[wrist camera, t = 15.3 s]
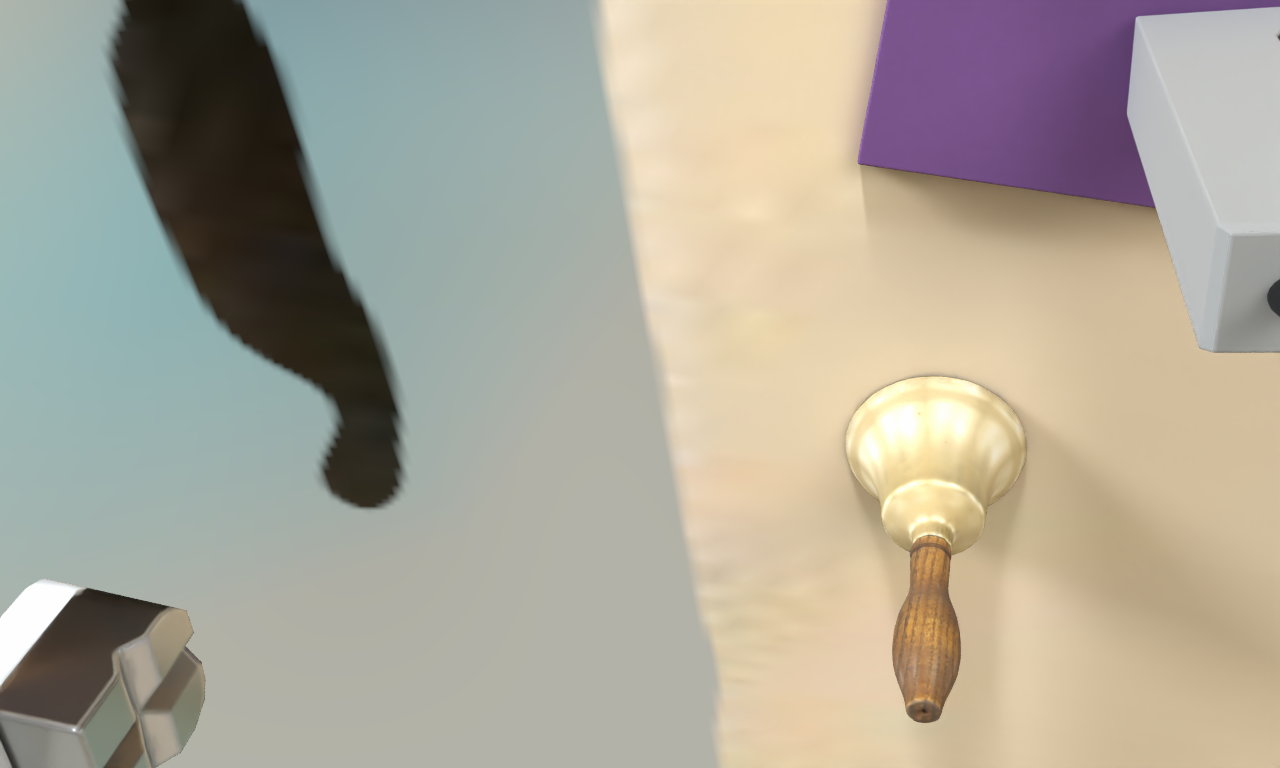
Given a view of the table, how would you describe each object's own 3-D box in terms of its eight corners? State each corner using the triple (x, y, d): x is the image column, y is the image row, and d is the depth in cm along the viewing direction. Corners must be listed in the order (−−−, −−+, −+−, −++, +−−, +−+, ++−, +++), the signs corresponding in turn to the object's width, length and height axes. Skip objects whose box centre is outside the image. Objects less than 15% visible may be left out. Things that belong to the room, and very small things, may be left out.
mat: (916, -158, 42) (916, -153, 41) (1595, -83, 39) (1606, -76, 38) (858, 156, 49) (857, 164, 48) (1428, 239, 46) (1435, 249, 45)
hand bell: (909, 537, 60) (899, 807, 47) (811, 424, 57) (772, 679, 44) (1060, 469, 55) (1095, 747, 43) (963, 344, 53) (968, 601, 40)
